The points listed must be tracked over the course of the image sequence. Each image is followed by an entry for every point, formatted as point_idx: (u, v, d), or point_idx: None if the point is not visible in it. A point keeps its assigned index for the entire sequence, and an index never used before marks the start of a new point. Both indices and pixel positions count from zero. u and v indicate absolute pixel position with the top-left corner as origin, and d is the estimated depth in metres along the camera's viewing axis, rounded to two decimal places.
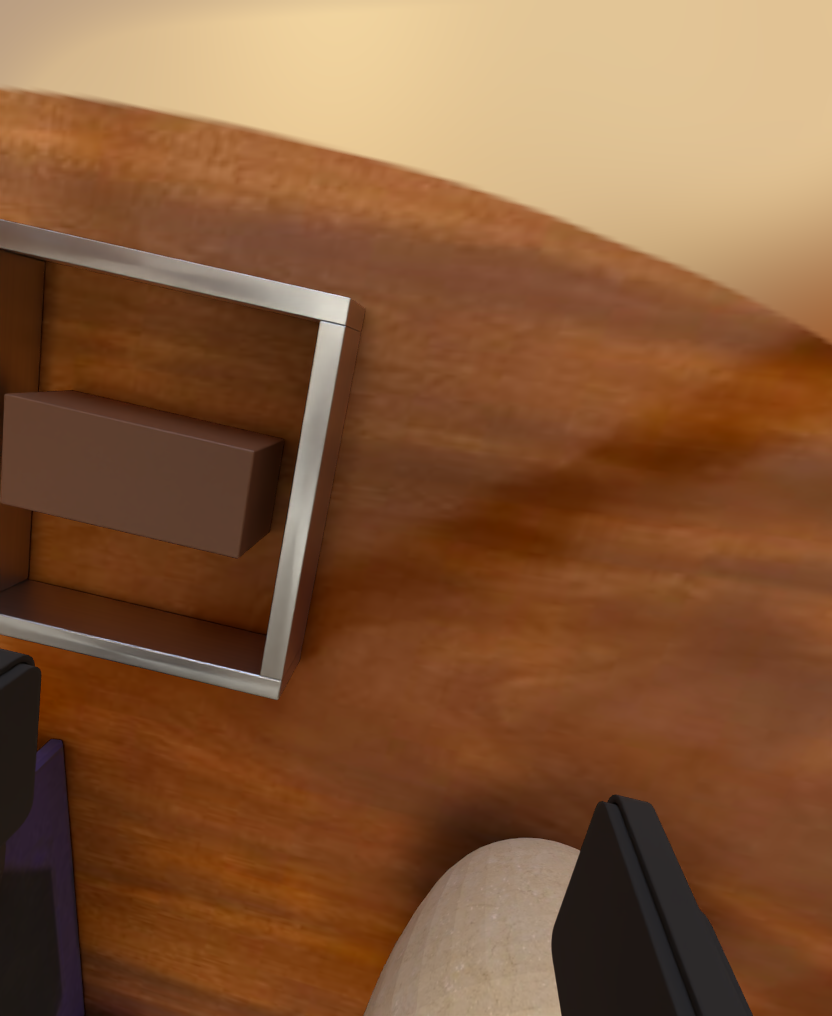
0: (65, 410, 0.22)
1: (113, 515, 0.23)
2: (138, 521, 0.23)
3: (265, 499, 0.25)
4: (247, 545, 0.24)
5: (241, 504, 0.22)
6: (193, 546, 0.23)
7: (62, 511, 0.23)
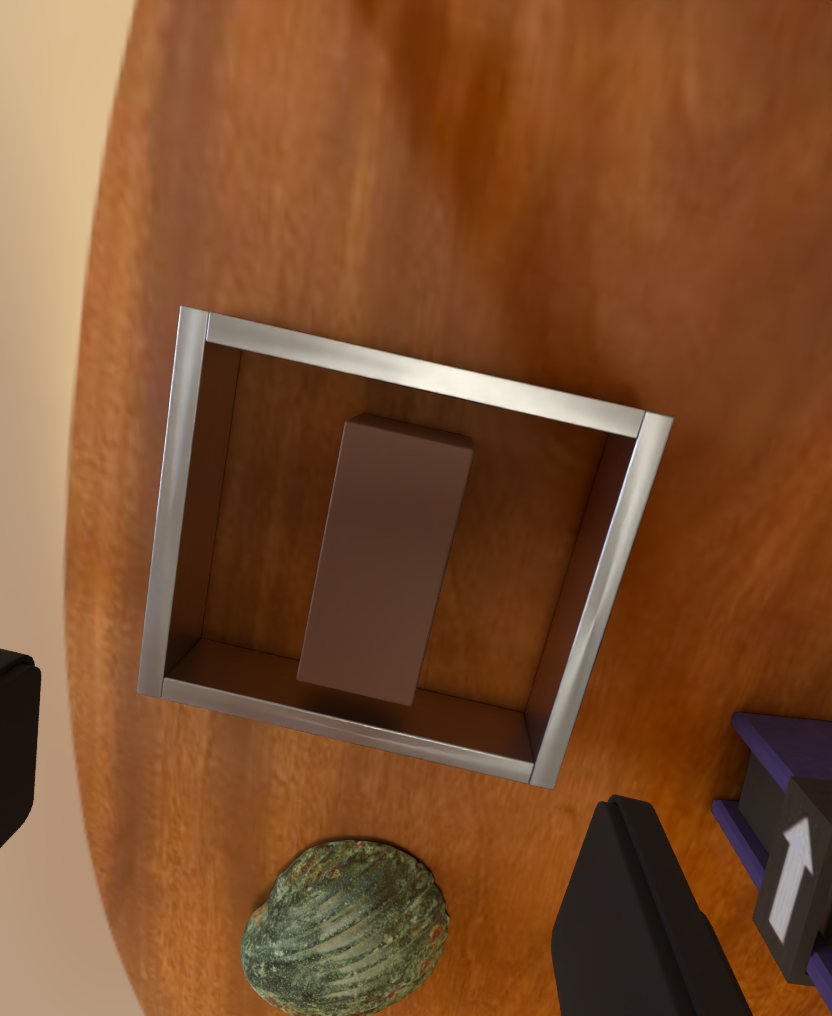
0: (309, 622, 0.21)
1: (422, 589, 0.20)
2: (429, 562, 0.20)
3: (421, 430, 0.22)
4: (464, 444, 0.20)
5: (407, 441, 0.19)
6: (458, 502, 0.20)
7: (419, 643, 0.21)
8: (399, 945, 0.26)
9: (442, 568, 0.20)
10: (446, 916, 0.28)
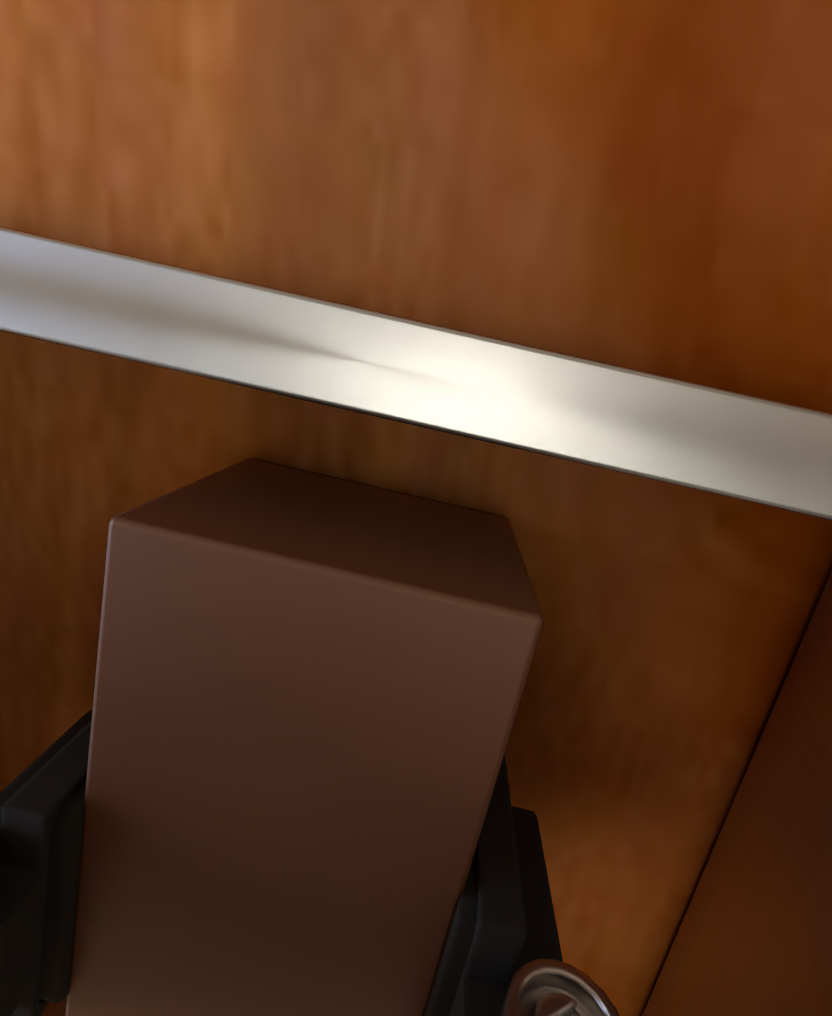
0: None
1: (379, 996, 0.07)
2: (397, 931, 0.07)
3: (382, 513, 0.08)
4: (506, 578, 0.07)
5: (317, 586, 0.06)
6: (489, 774, 0.06)
7: None
8: None
9: (436, 947, 0.07)
10: None
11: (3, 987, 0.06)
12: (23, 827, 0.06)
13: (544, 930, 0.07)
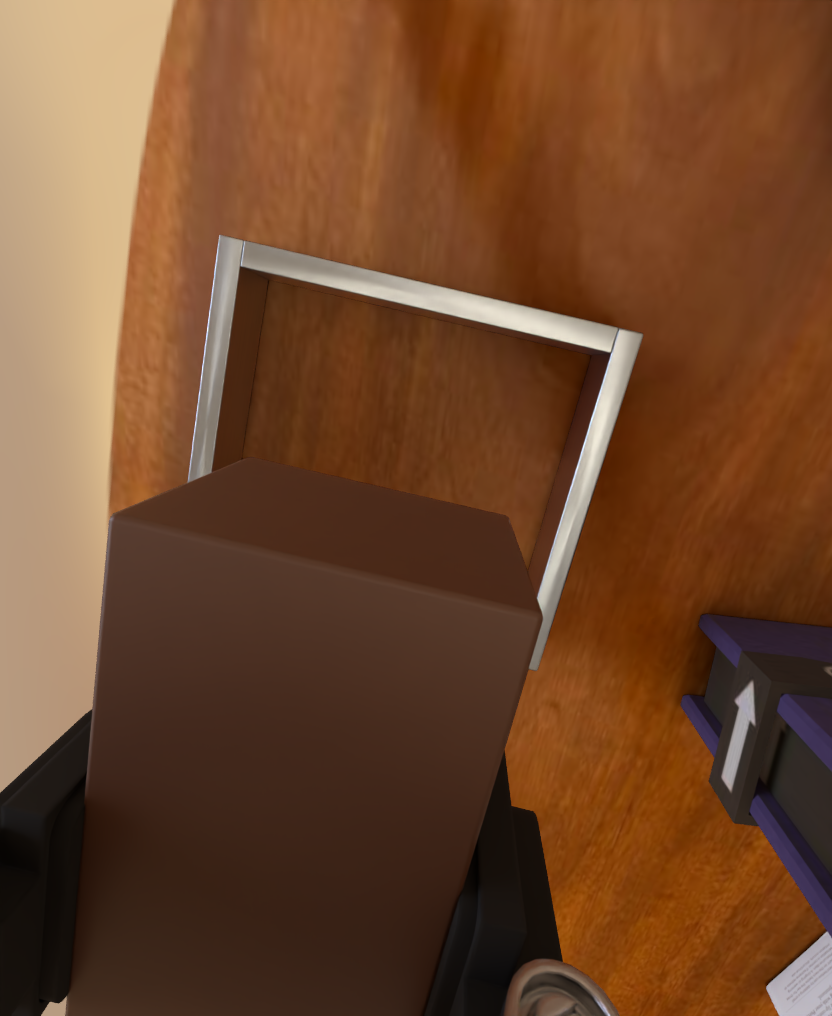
0: None
1: (379, 994, 0.07)
2: (397, 928, 0.07)
3: (381, 511, 0.08)
4: (506, 575, 0.07)
5: (317, 582, 0.06)
6: (488, 771, 0.06)
7: None
8: None
9: (436, 944, 0.07)
10: None
11: (3, 987, 0.06)
12: (23, 827, 0.06)
13: (544, 930, 0.07)
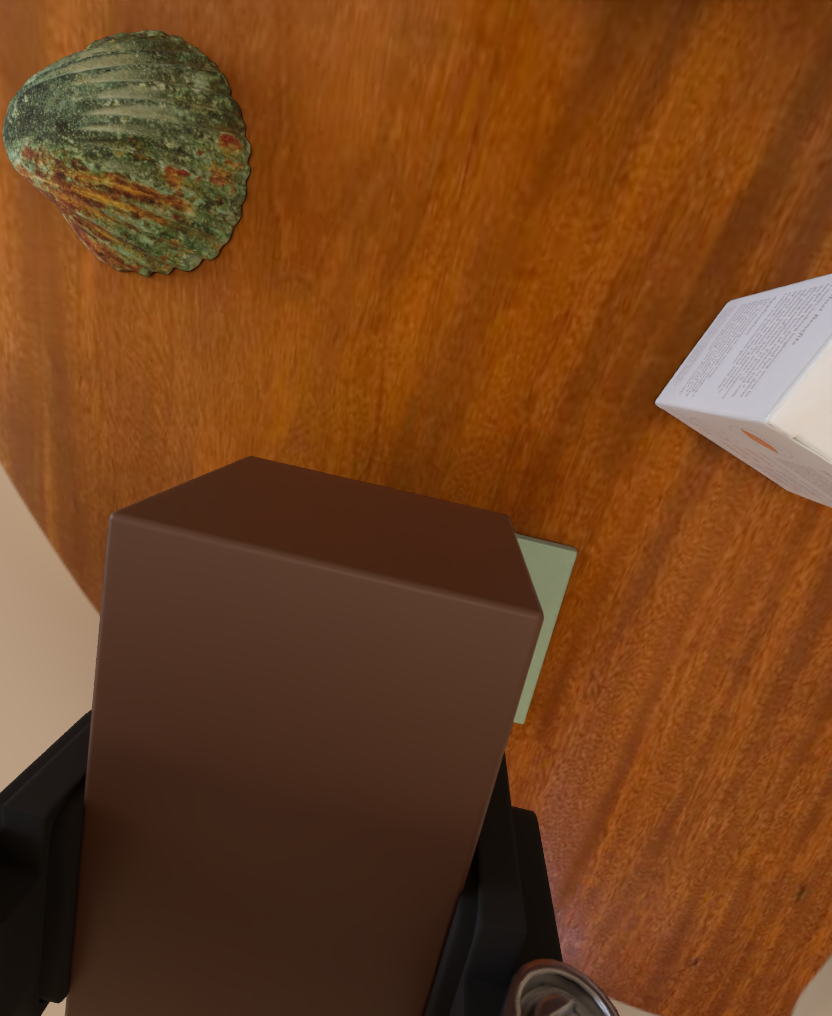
0: None
1: (379, 994, 0.07)
2: (397, 928, 0.07)
3: (382, 510, 0.08)
4: (506, 574, 0.06)
5: (316, 582, 0.06)
6: (489, 771, 0.06)
7: None
8: (174, 102, 0.23)
9: (437, 944, 0.07)
10: (246, 140, 0.25)
11: (3, 987, 0.06)
12: (23, 827, 0.06)
13: (544, 930, 0.07)
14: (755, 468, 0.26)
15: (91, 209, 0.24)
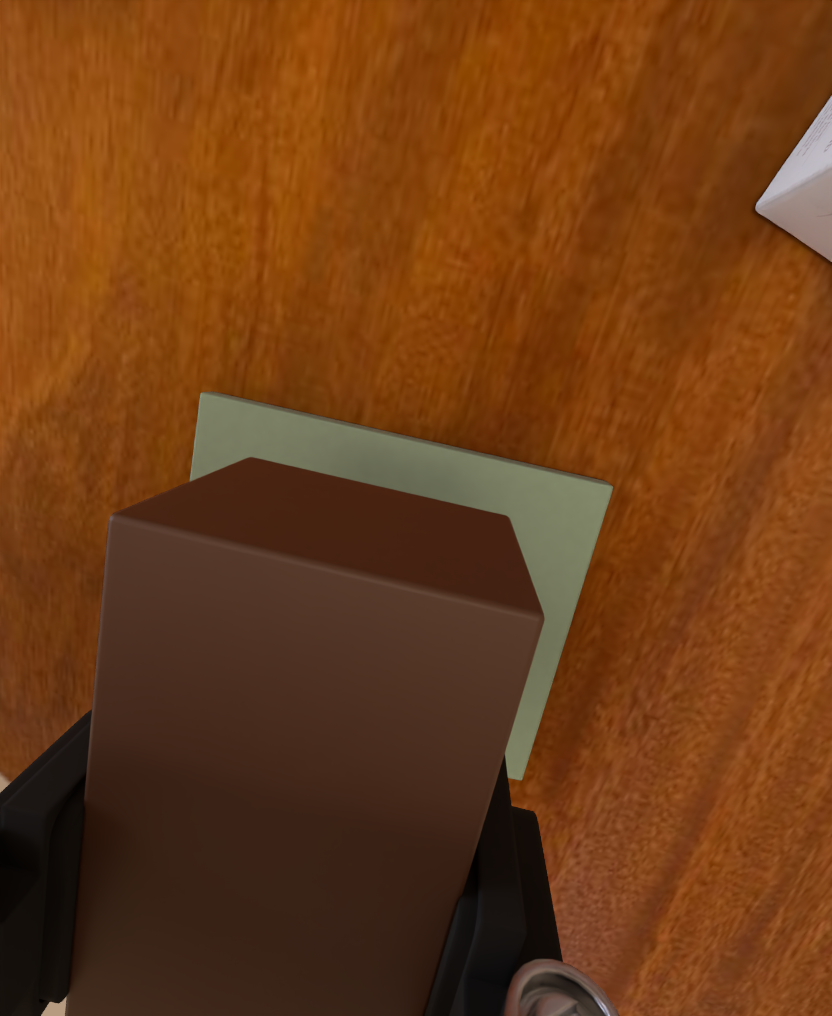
0: None
1: (379, 995, 0.07)
2: (398, 930, 0.07)
3: (382, 511, 0.08)
4: (507, 574, 0.06)
5: (317, 584, 0.06)
6: (490, 772, 0.06)
7: None
8: None
9: (437, 946, 0.07)
10: None
11: (3, 987, 0.06)
12: (23, 827, 0.06)
13: (545, 930, 0.07)
14: None
15: None
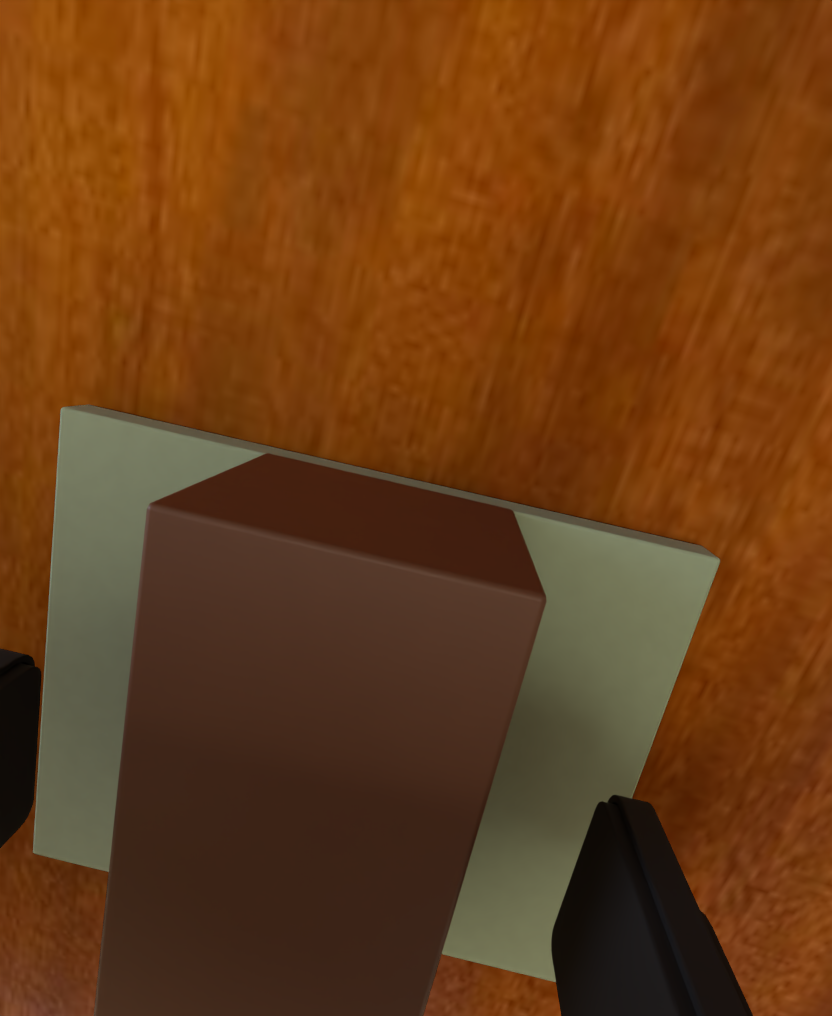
0: (99, 1011, 0.08)
1: (392, 953, 0.07)
2: (410, 891, 0.07)
3: (394, 503, 0.09)
4: (511, 561, 0.07)
5: (337, 566, 0.06)
6: (496, 742, 0.07)
7: None
8: None
9: (446, 906, 0.07)
10: None
11: None
12: None
13: None
14: None
15: None
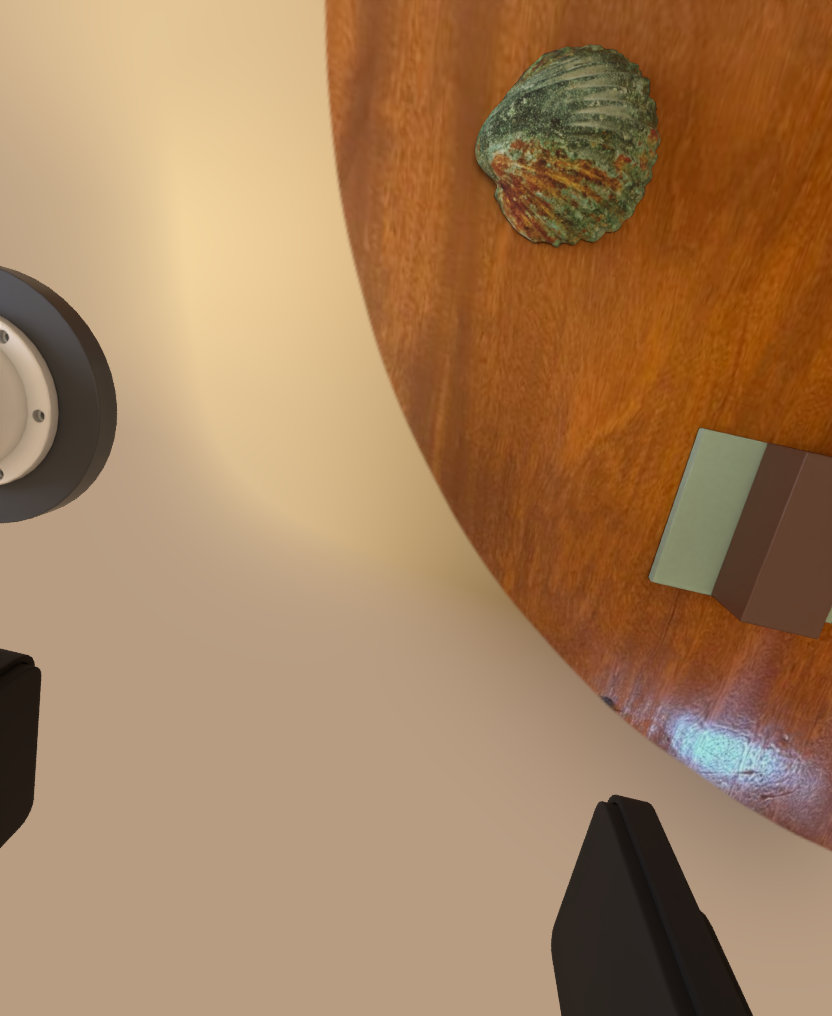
0: (758, 582, 0.32)
1: None
2: None
3: (825, 455, 0.32)
4: None
5: None
6: None
7: (831, 596, 0.32)
8: (631, 102, 0.29)
9: None
10: (658, 133, 0.31)
11: None
12: None
13: None
14: None
15: (552, 189, 0.30)
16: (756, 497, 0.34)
